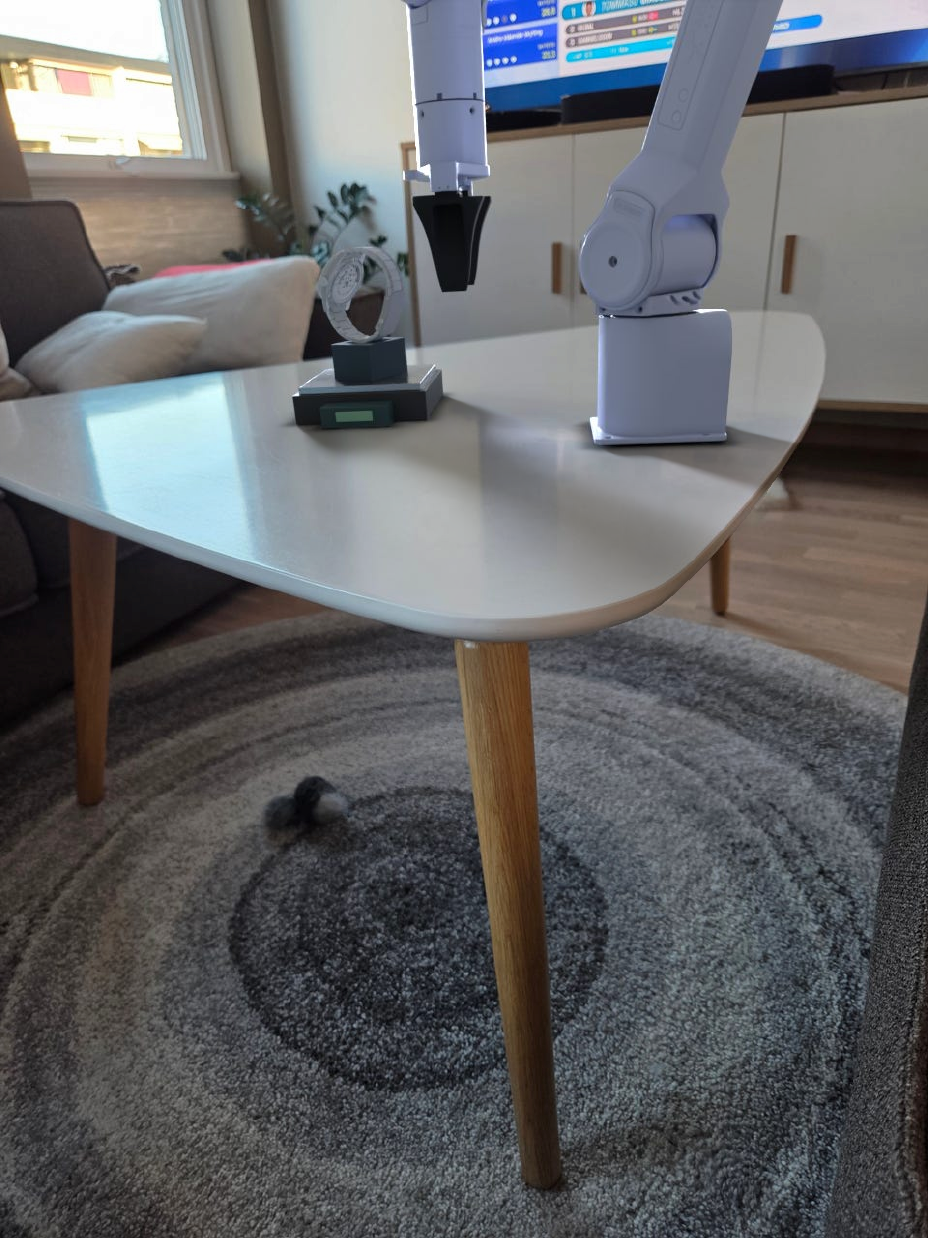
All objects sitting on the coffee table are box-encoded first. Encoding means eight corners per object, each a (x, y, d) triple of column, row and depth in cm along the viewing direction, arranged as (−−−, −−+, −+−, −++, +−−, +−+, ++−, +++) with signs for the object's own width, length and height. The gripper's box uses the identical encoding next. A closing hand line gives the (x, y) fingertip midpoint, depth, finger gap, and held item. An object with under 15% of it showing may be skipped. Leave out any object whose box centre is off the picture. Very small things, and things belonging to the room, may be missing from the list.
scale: (443, 394, 83) (441, 368, 82) (423, 425, 70) (421, 396, 69) (328, 398, 84) (324, 373, 83) (287, 430, 71) (283, 401, 70)
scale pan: (436, 369, 82) (435, 363, 81) (420, 390, 72) (420, 383, 71) (328, 374, 83) (327, 368, 82) (298, 394, 73) (297, 387, 73)
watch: (355, 369, 81) (342, 247, 76) (422, 372, 77) (413, 243, 72) (318, 379, 76) (301, 250, 72) (387, 382, 72) (375, 246, 68)
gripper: (413, 119, 72) (424, 285, 78) (383, 96, 59) (400, 297, 65) (492, 113, 71) (498, 281, 77) (480, 88, 58) (488, 292, 64)
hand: (458, 288), depth 71 cm, fingers open, 7 cm apart
